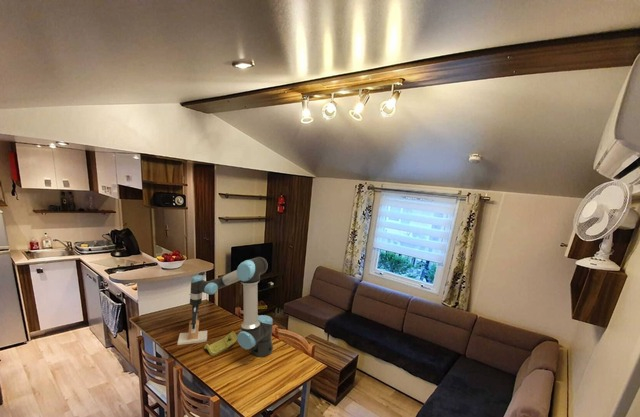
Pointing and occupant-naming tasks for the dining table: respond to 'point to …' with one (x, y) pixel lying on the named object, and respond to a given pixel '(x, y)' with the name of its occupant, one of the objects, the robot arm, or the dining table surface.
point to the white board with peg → (184, 339)
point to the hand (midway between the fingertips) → (194, 327)
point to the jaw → (195, 335)
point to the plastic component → (221, 344)
